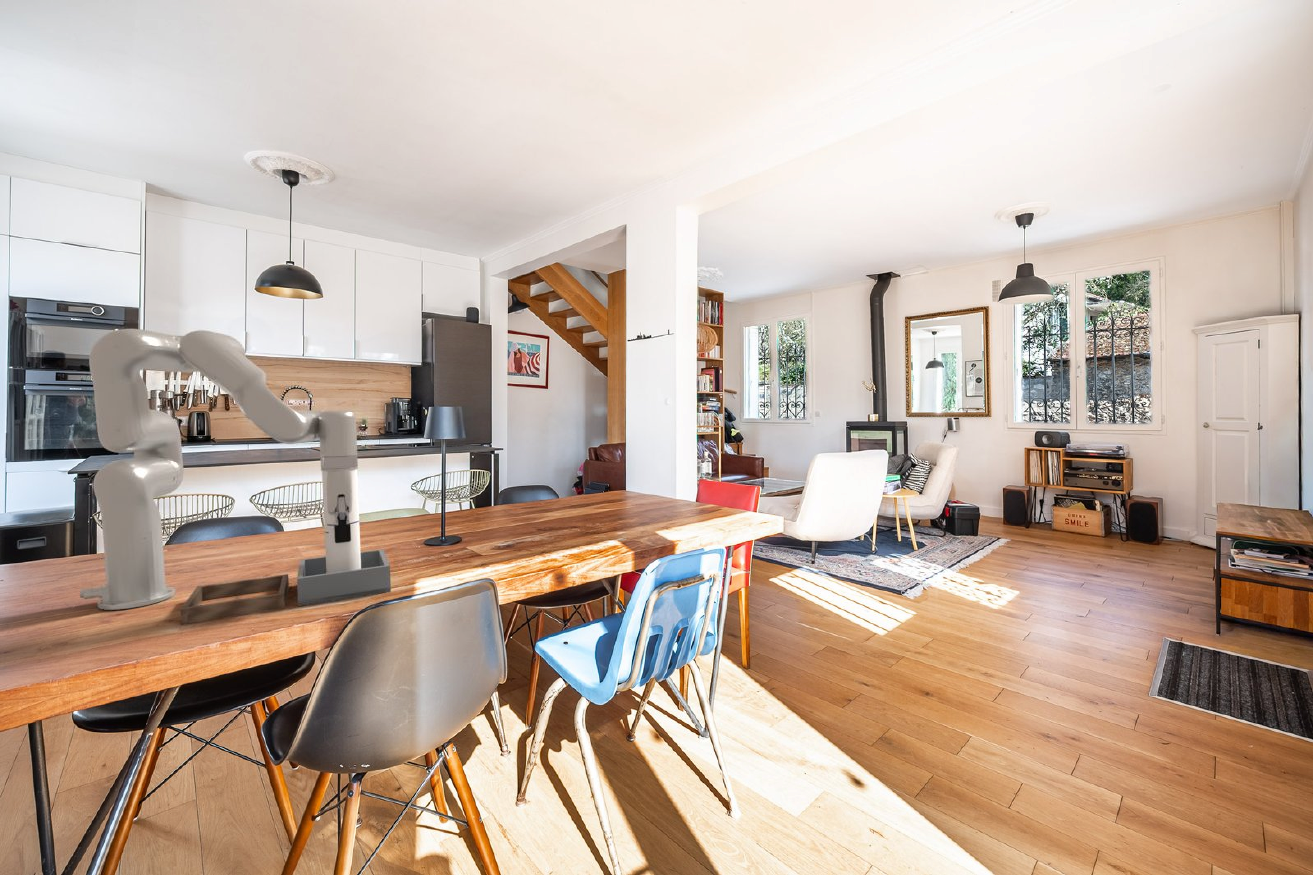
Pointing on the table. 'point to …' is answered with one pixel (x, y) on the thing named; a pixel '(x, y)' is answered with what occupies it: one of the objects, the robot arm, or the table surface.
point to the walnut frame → (199, 613)
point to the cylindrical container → (336, 553)
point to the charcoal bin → (342, 579)
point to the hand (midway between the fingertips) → (342, 538)
